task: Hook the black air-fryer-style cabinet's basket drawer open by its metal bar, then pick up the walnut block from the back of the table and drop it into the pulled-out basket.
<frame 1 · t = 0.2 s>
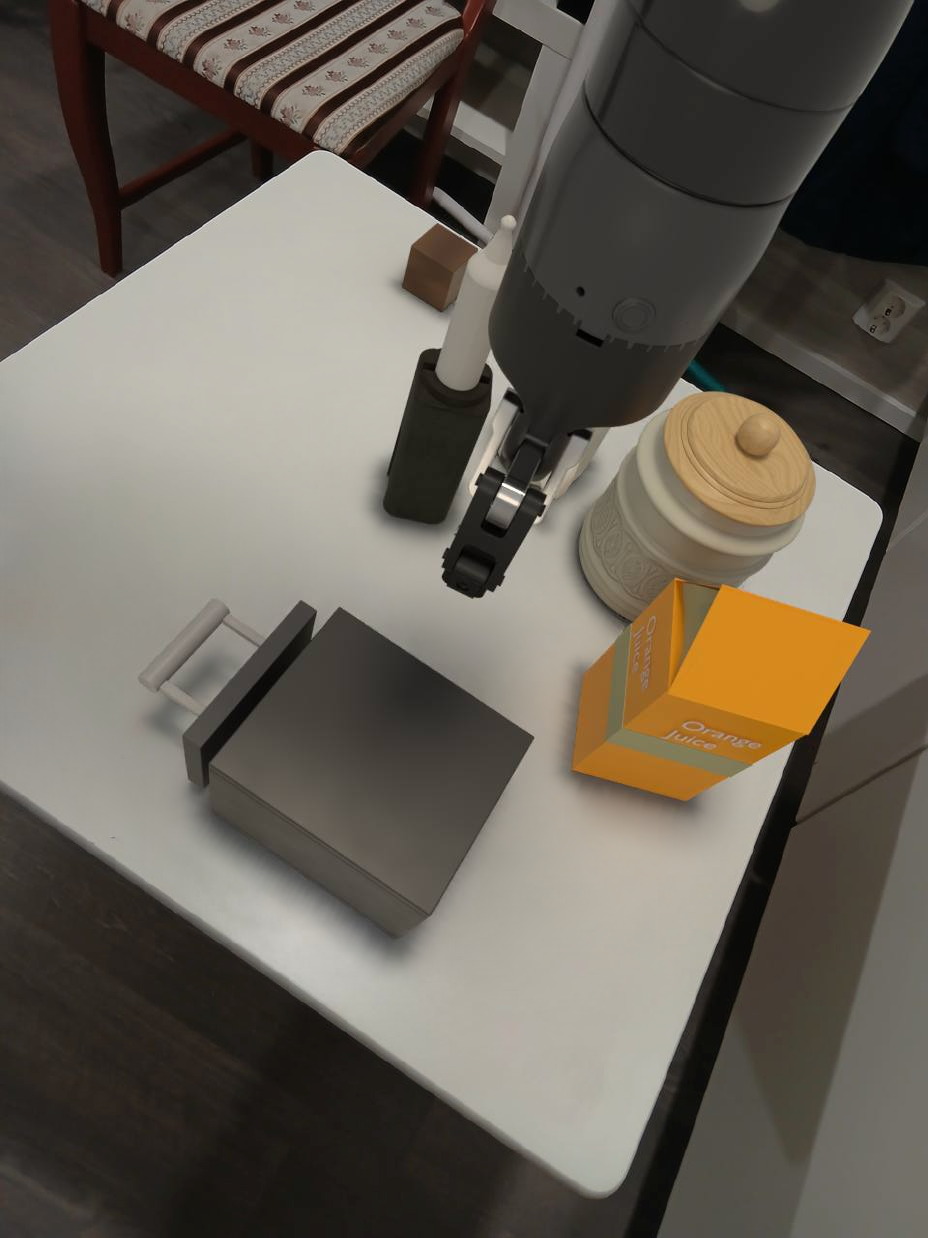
hand: (492, 522, 41), 19 cm above the table, tool pointing down, fingers open, 8 cm apart
jar: (647, 564, 67), on the table
basket: (295, 726, 48), point 5 cm above the table, slide at 1.0 cm
fryer: (357, 797, 52), on the table
block: (434, 287, 76), on the table
mug: (538, 470, 69), on the table
orange juice: (632, 738, 59), on the table
candle: (416, 495, 65), on the table
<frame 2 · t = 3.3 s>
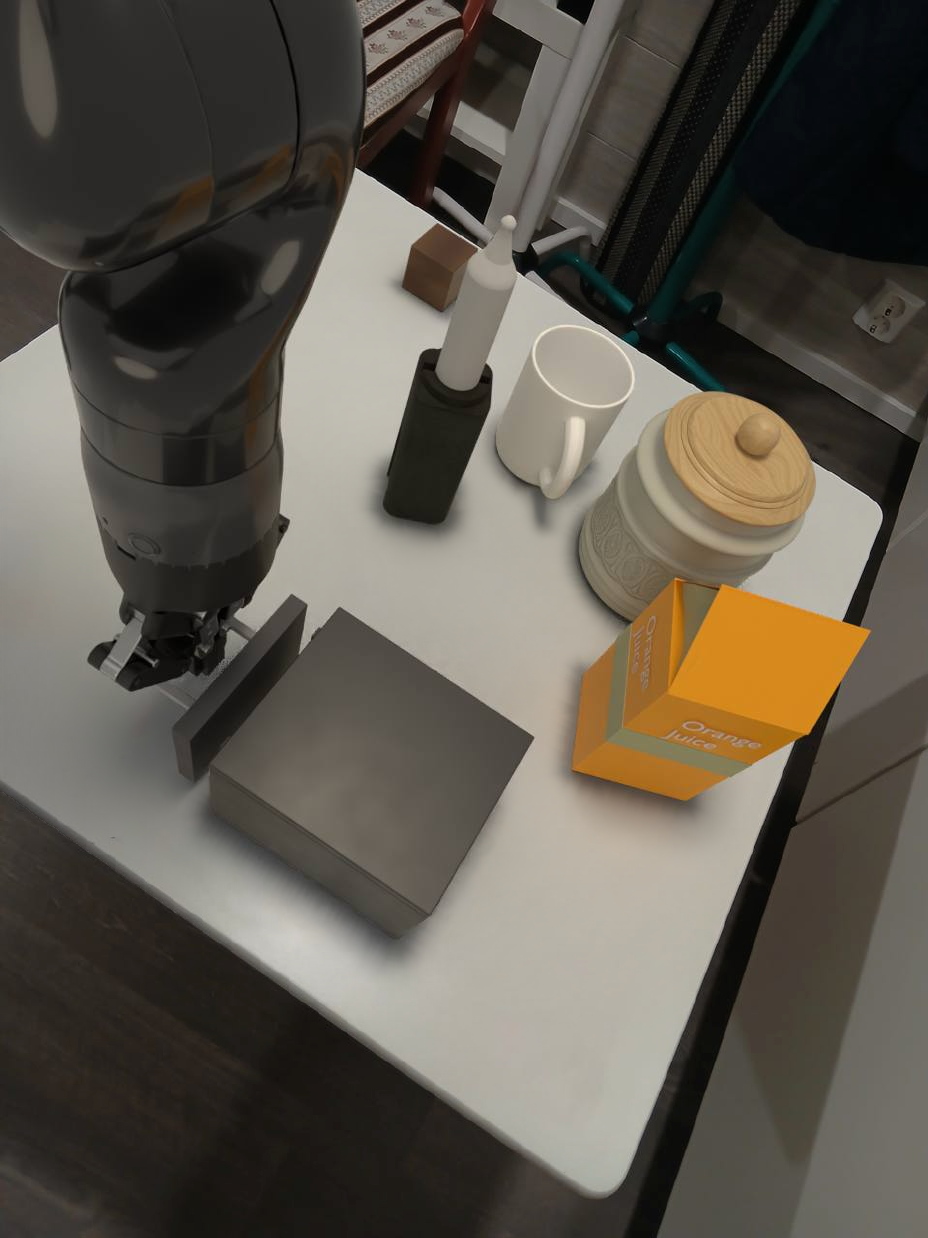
hand: (201, 659, 48), 5 cm above the table, tool pointing down, fingers closed
basket: (286, 719, 48), point 5 cm above the table, slide at 1.7 cm, touching gripper
everything else where it was.
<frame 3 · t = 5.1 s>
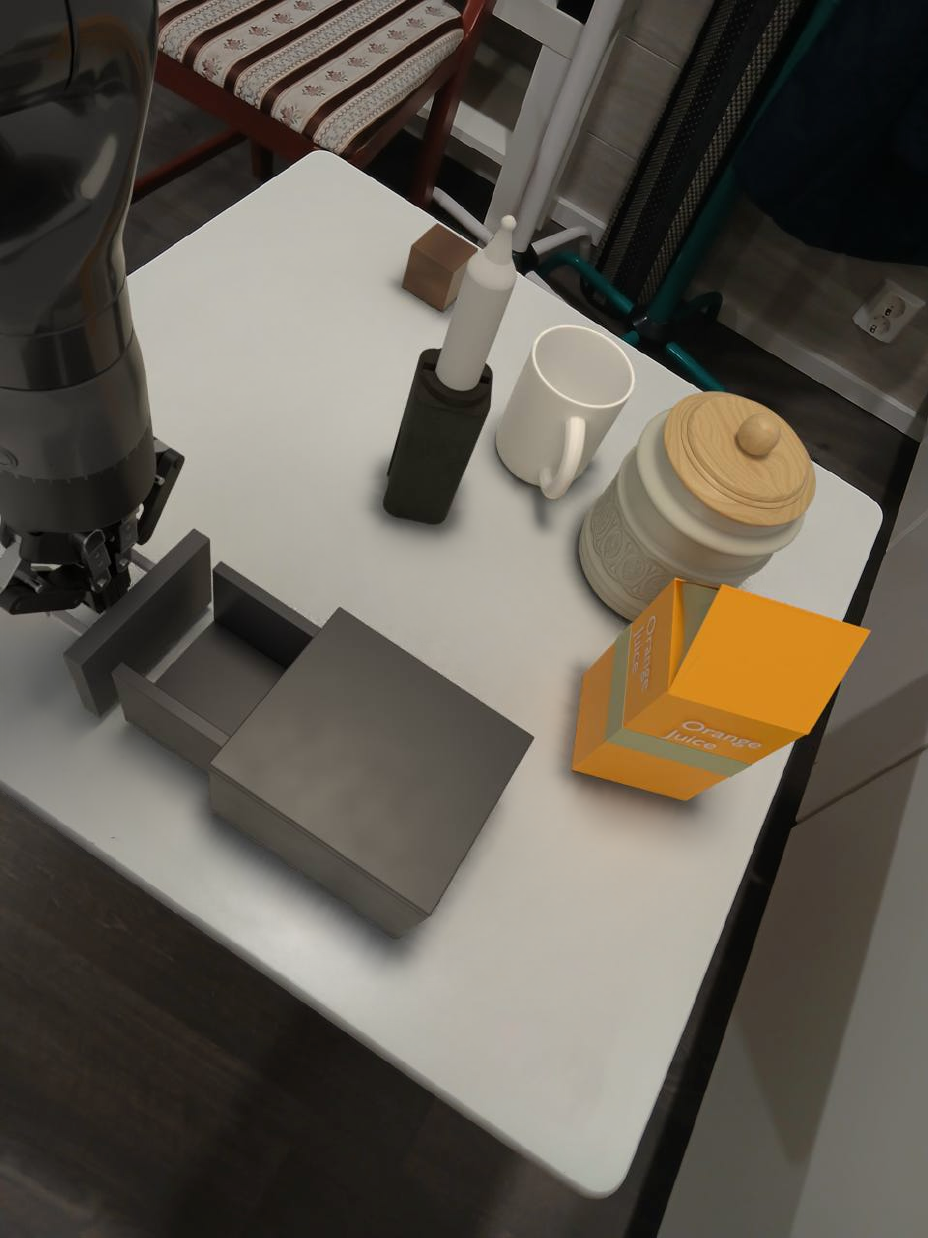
hand: (106, 599, 49), 5 cm above the table, tool pointing down, fingers closed
basket: (189, 653, 49), point 5 cm above the table, slide at 8.7 cm, touching gripper
everything else where it was.
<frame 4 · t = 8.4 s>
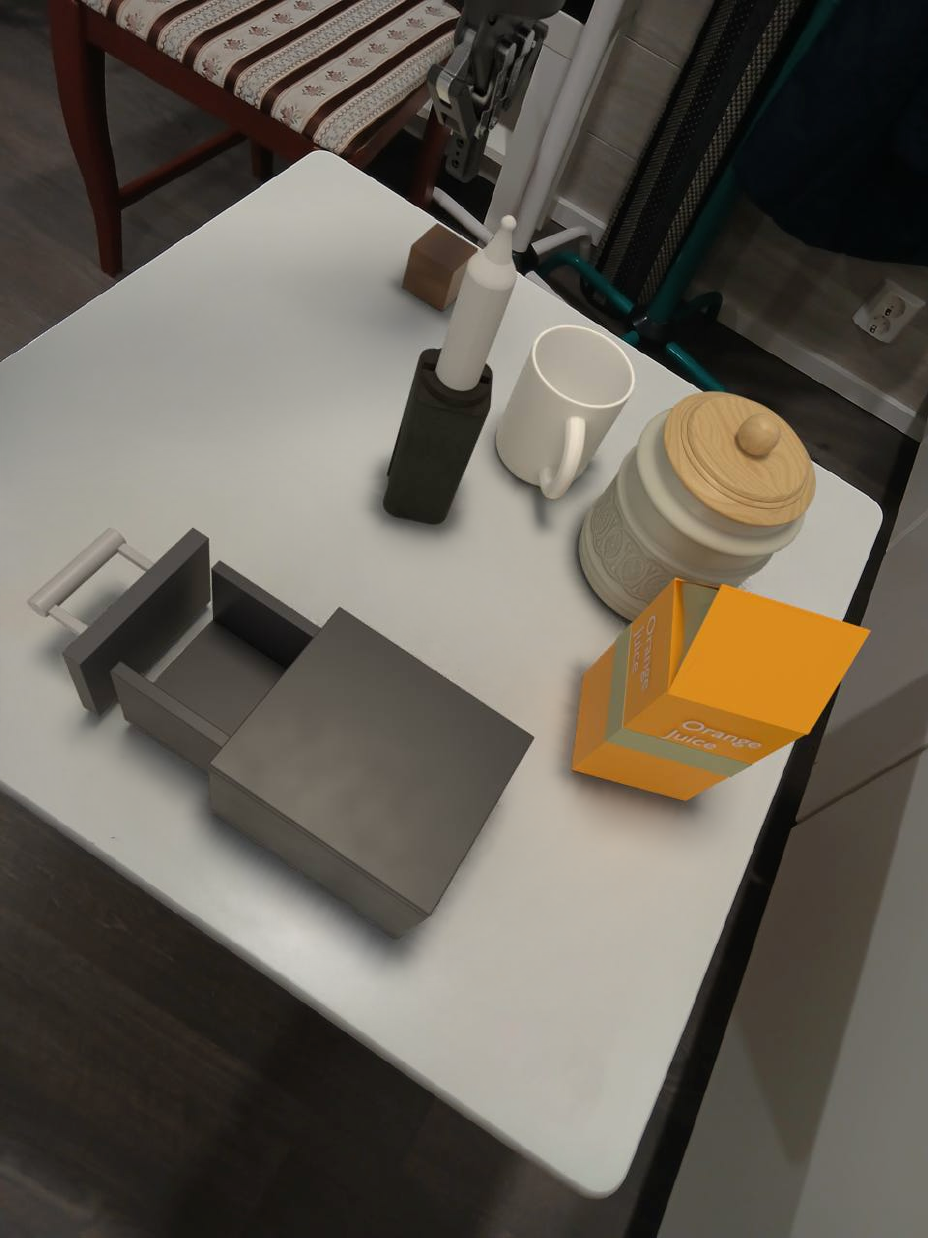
hand: (460, 173, 62), 14 cm above the table, tool pointing down, fingers closed
basket: (188, 653, 49), point 5 cm above the table, slide at 8.8 cm
everything else where it was.
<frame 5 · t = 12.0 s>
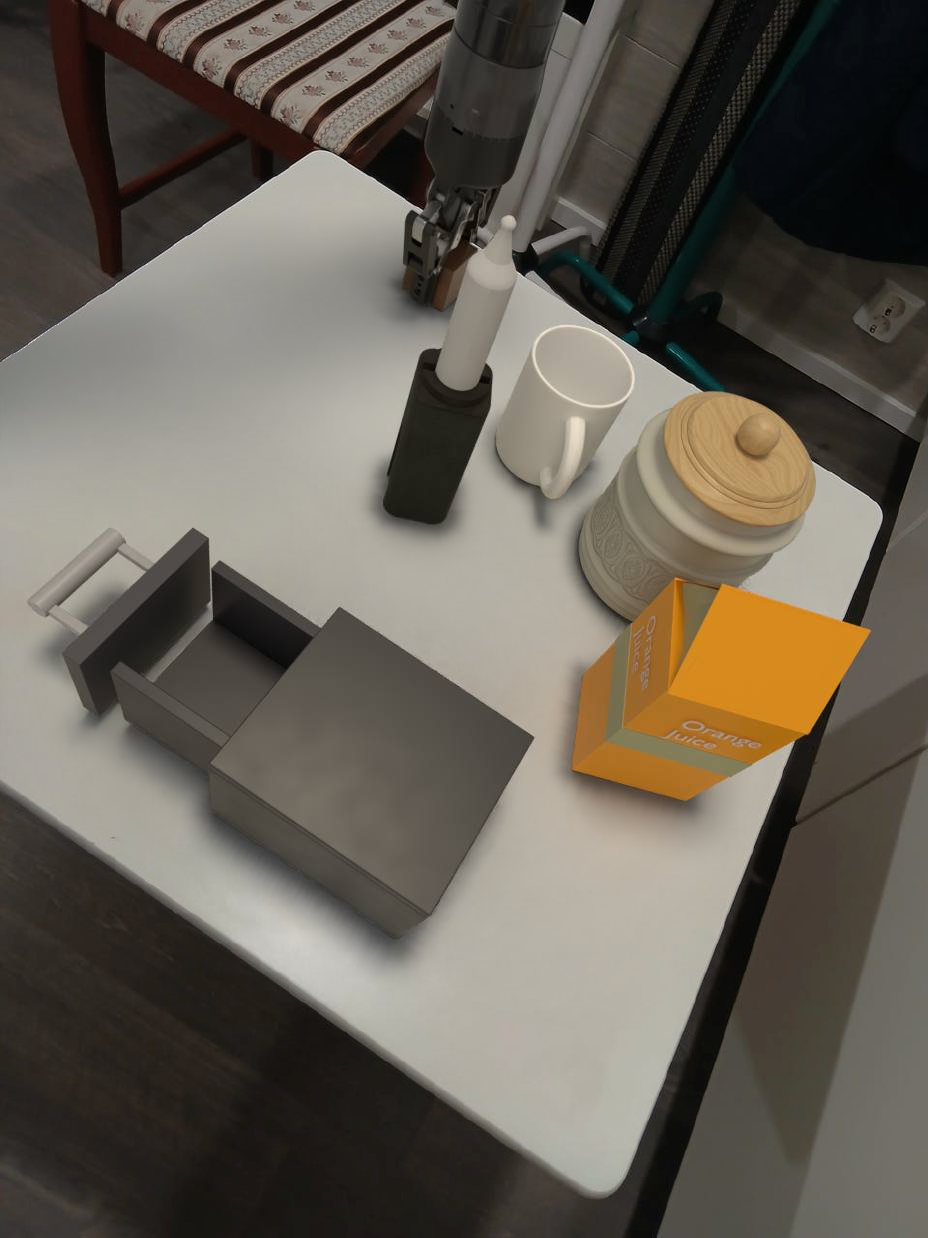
hand: (434, 284, 76), 0 cm above the table, tool pointing down, fingers closed on block, 4 cm apart
block: (434, 287, 76), on the table, touching gripper
everything else where it was.
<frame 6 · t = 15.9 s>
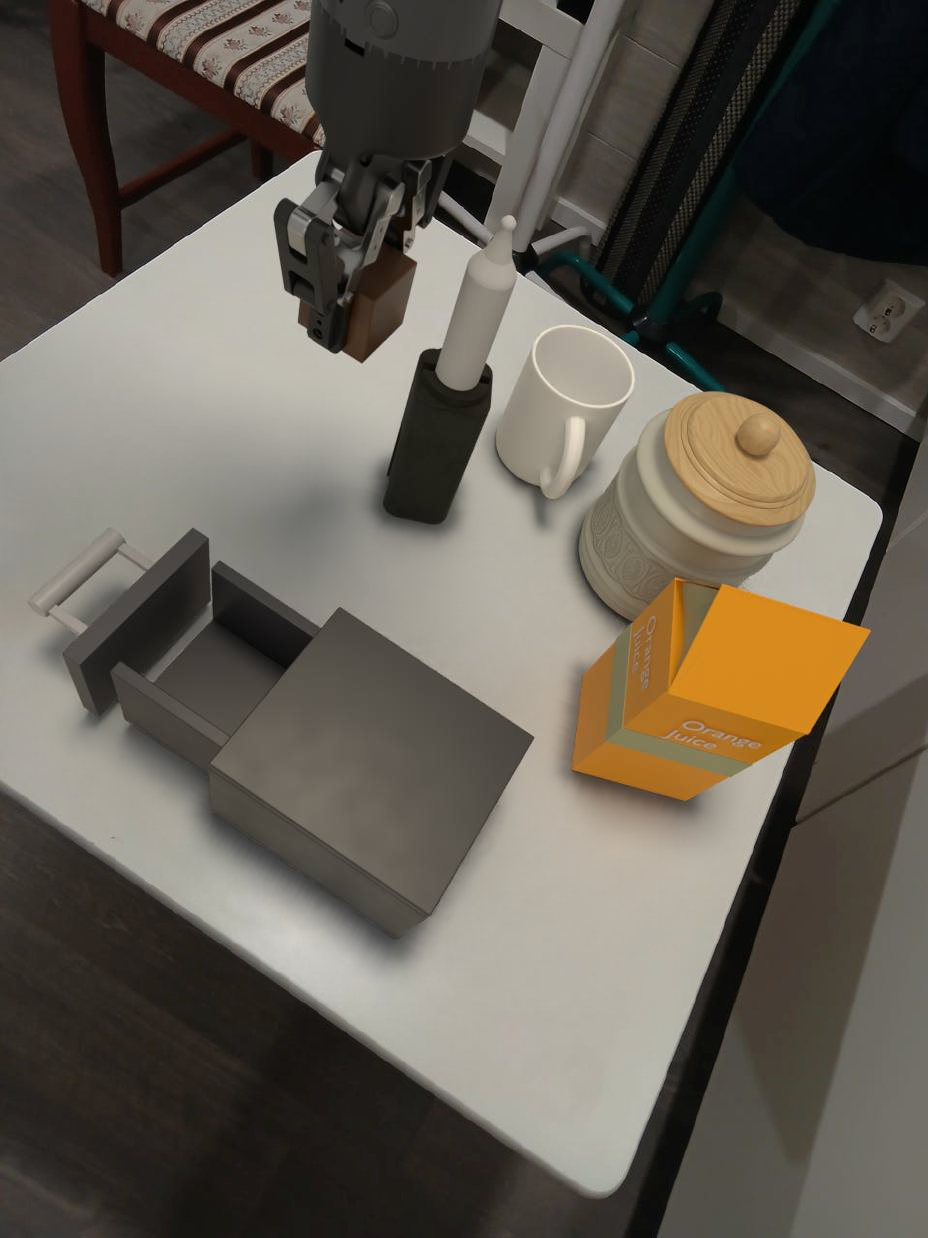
hand: (350, 319, 48), 17 cm above the table, tool pointing down, fingers closed on block, 4 cm apart
block: (351, 323, 48), point 17 cm above the table, touching gripper
everything else where it was.
when the fingers open (8 cm above the table, at t = 20.2 s): block drops 6 cm, resting on basket.
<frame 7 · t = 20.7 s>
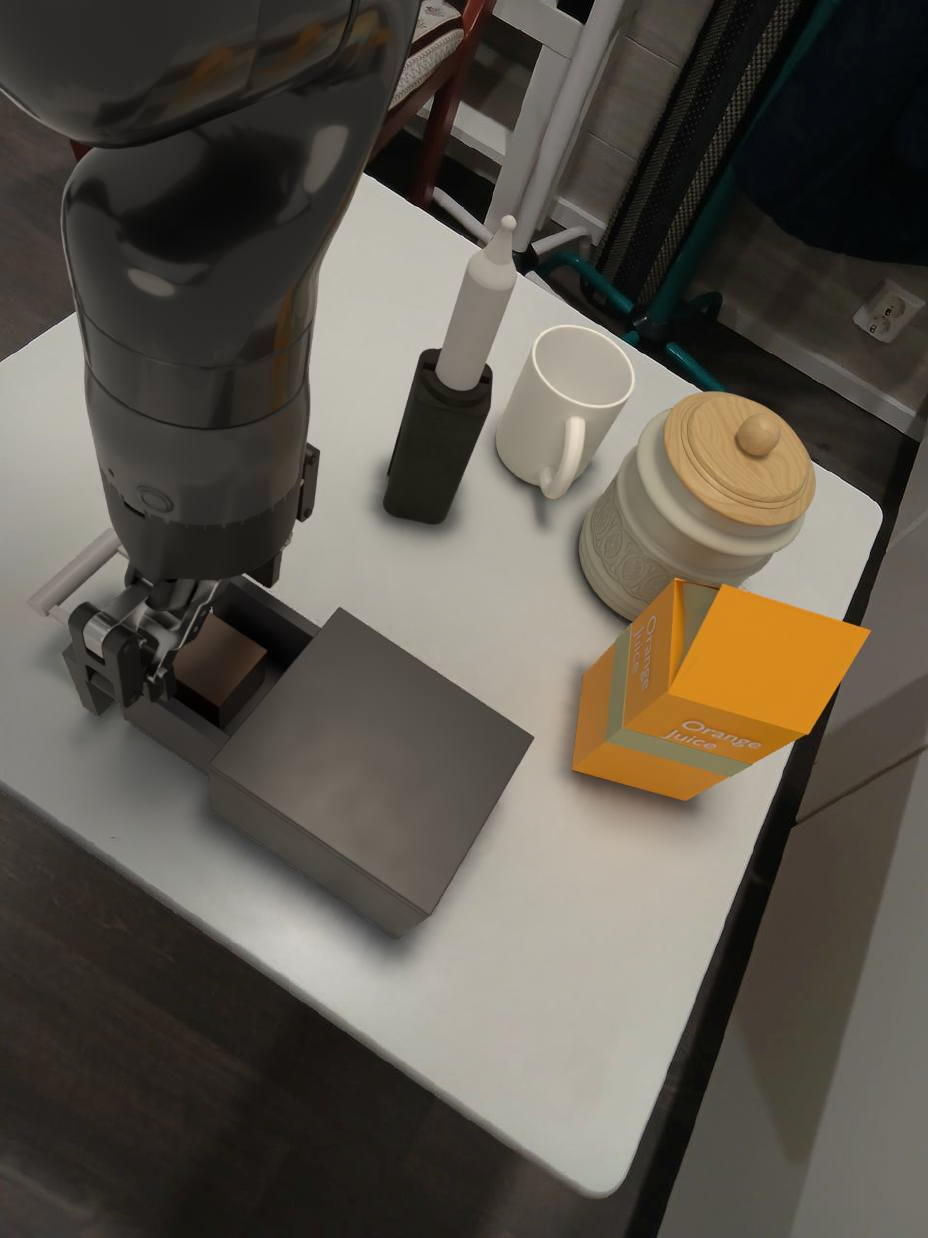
hand: (209, 629, 44), 10 cm above the table, tool pointing down, fingers open, 8 cm apart
basket: (188, 653, 49), point 5 cm above the table, slide at 8.8 cm, touching block
block: (213, 686, 51), point 2 cm above the table, touching basket
everything else where it was.
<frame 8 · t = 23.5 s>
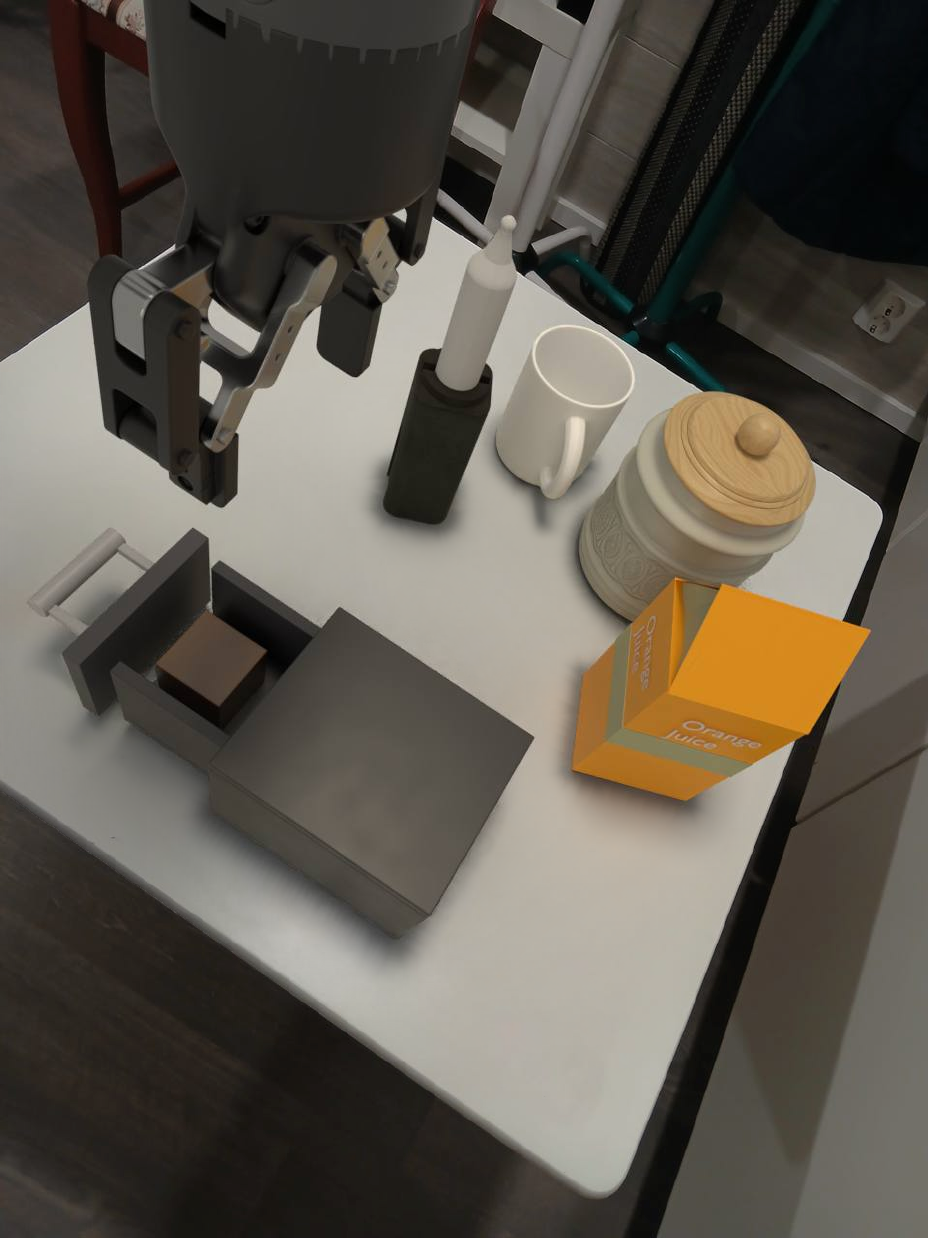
hand: (278, 422, 32), 26 cm above the table, tool pointing down, fingers open, 8 cm apart
nothing on the table moved.
at the end: basket slide at 8.8 cm; block inside the target area in the basket (0.7 cm from its centre), point 2.0 cm above the fryer's base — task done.
